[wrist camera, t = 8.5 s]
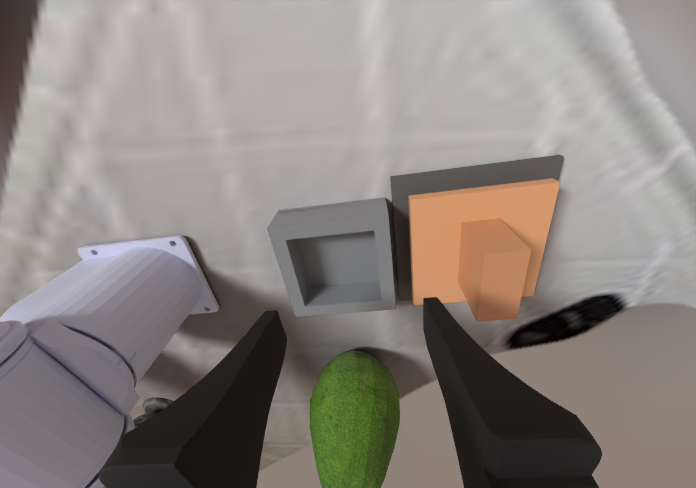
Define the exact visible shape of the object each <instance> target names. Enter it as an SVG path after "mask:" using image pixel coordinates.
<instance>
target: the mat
mask: <svg viewBox="0 0 696 488" xmlns="http://www.w3.org/2000/svg"><path fill="white" fill-rule="evenodd" d="M563 157H564V156H561V155H555V156H547V157H540V158H532V159H524V160H516V161H508V162H500V163H493V164H485V165H477V166H469V167H461V168H453V169H446V170H438V171H430V172H422V173H414V174H407V175H399V176H391V190H392V204H393V219H394V233H395V248H396V262H397V277H398V291H399V301H401V300H413V299H412V275H411V249H410V223H409V197H408V196H409V195H418V194H426V193H434V192H443V191H451V190H459V189H468V188H476V187H484V186H493V185H501V184H510V183H518V182H526V181H535V180H543V179H551V178H553V179H555V180H557V181H558V178H559V174H560V169H561V165H562V161H563Z"/></svg>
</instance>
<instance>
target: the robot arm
mask: <svg viewBox="0 0 696 488" xmlns="http://www.w3.org/2000/svg"><path fill="white" fill-rule="evenodd" d="M173 241H174V242H175V243H176V244H175V243H173ZM78 254H79V255H80V257H81V258H82V259H83V261H81V262H80V263H78V264H76V265H75V266H73V267H72V268H70V269H69V270H67V271H65V272H64V273H62V274H61V275H59V276H58V277H56V278H55V279H53V280H51V281H50V282H48V283H47V284H45V285H44V286H42V287H41V288H39V289H37V290H36V291H34V292H33V293H31V294H30V295H28V296H26V297H25V298H23V299H22V300H20V301H19V302H17V303H16V304H14V305H13V306H12V307H10V308H9V309H8V310H7V311H6V312H5V313H4V314H3V315H2V317H1V318H0V488H103V487H104V486H105V487H106V488H256V486H257V479H258V472H259V465H260V458H261V452H262V446H263V441H264V435H265V429H266V424H267V419H268V414H269V410H270V406H271V402H272V399H273V395H274V392H275V388H276V385H277V381H278V378H279V375H280V371H281V368H282V364H283V360H284V356H285V350H286V343H287V337H286V334H285V331H284V329H283V326H282V323H281V320H280V317H279V314H278V311H277V310H275V311H265V312H264V313H263V315H262V316H261V317H260V318H259V319H258V320H257V322H256V323H255V324H254V325H253V326H252V328H251V329H250V330H249V331H248V332H247V334H246V335H245V336H244V337H243V338H242V339H241V340H240V342H239V343H238V344H237V345H236V346H235V347H234V348H233V349H232V350H231V351H230V352H229V353H228V354H227V356H226V357H225V358H224V359H223V360H222V361H221V362H220V363H219V364H218V365H217V366H216V367H215V368H214V369H212V370H211V371H210V372H209V373H208V374H207V375H206V376H205V377H204V378H203V379H201V380H200V381H199V382H198V383H197V384H195V385H194V386H193V387H192V388H190V389H189V390H188V391H187V392H186V393H184V394H183V395H182V396H181V397H179V398H178V399H177V400H175V401H174V402H173V403H171V404H170V405H168V406H167V407H166V408H164V409H163V410H161V411H160V412H159V413H157V414H156V415H154V416H153V417H151V418H150V419H148V420H146V421H145V422H143V423H142V424H140V425H139V426H137V427H136V428H134V421H133V419H132V417H131V416H130V415H129V413H130V411H131V410H132V408H133V407H134V406H135V404H136V403H137V401H138V400H139V398H140V396H139V395H138V394H137V393H136V391H135V389H134V388H135V387H136V385H137V384H138V383H139V381H140V380H141V379H142V377H143V376H144V374H145V373H146V372H147V370H148V369H149V368H150V366H151V365H152V364H153V362H154V361H155V360H156V358H157V357H158V356H159V354H160V353H161V352H162V350H163V349H164V347H165V346H166V345H167V343H168V342H169V341H170V339H171V338H172V337H173V335H174V334H175V333H176V331H177V330H178V329H179V327H180V326H181V324H182V323H183V322H184V320H185V319H186V318H187V316H188V315H190V314H202V313H215V312H217V311H218V309H219V305H218V303H217V301H216V299H215V297H214V295H213V293H212V290H211V288H210V286H209V284H208V282H207V280H206V278H205V276H204V274H203V272H202V270H201V268H200V266H199V264H198V262H197V260H196V258H195V256H194V254H193V252H192V250H191V248H190V246H189V244H188V242H187V240H186V238H184V237H183V236H170V237H162V238H153V239H144V240H136V241H127V242H118V243H109V244H101V245H92V246H83V247H81V248H79V249H78ZM207 307H208V308H207ZM423 321H424V333H425V338H426V343H427V348H428V351H429V354H430V357H431V360H432V363H433V366H434V369H435V372H436V375H437V378H438V381H439V384H440V387H441V390H442V393H443V397H444V400H445V403H446V408H447V412H448V416H449V420H450V424H451V429H452V433H453V438H454V442H455V447H456V451H457V455H458V460H459V465H460V470H461V474H462V479H463V484H464V488H599V487H598V485H597V483H596V482H595V480H594V478H593V477H592V473H593V471H594V470H595V469H596V467H597V465H598V464H599V462H600V459H601V456H602V452H601V448H600V447H599V445H598V444H597V443H596V441H595V439H594V438H593V436H592V435H591V434H590V432H589V431H588V430H587V428H586V427H585V426H584V424H583V423H582V422H581V421H580V420H579V418H578V417H577V416H576V415H575V414H572V413H571V412H570V411H568V410H566V409H564V408H563V407H561V406H559V405H558V404H556V403H554V402H553V401H551V400H549V399H548V398H546V397H545V396H543V395H542V394H540V393H538V392H537V391H535V390H534V389H532V388H531V387H530V386H528V385H527V384H526V383H524V382H523V381H521V380H520V379H519V378H517V377H516V376H515V375H513V374H512V373H510V372H509V371H508V370H507V369H505V368H504V367H503V366H502V365H501V364H499V363H498V362H497V361H496V360H495V359H493V358H492V357H491V356H490V355H489V354H488V353H487V352H486V351H484V350H483V349H482V348H481V347H480V346H479V345H478V344H477V343H476V342H475V341H474V340H473V339H472V338H471V337H470V336H469V335H468V334H467V333H466V332H465V330H464V329H463V328H462V327H461V326H460V325H459V324H458V323H457V322H456V320H455V319H454V318H453V317H452V316H451V314H450V313H449V312H448V311H447V309H446V308H445V307H444V305H443V304H442V303H441V301H440V300H439V299H438V298H437V297H431V298H423Z"/></svg>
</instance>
